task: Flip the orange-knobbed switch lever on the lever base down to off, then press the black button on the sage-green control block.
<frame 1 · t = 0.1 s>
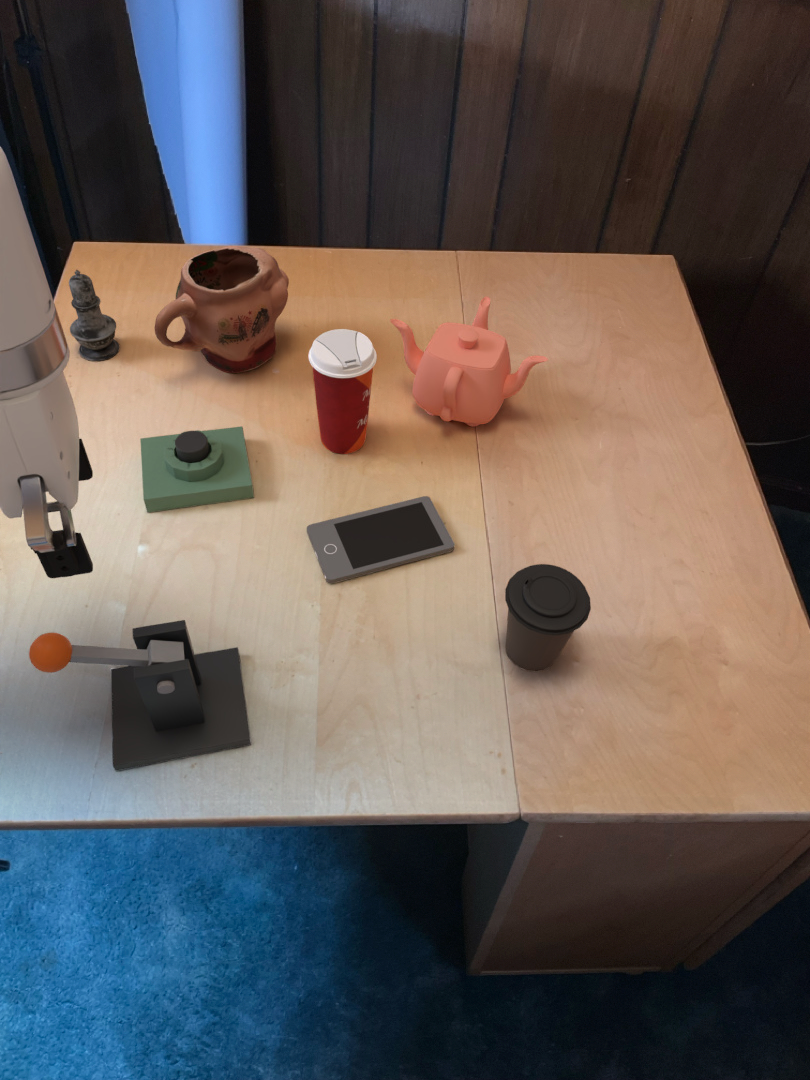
hand: (72, 523, 63), 21 cm above the table, tool pointing down, fingers open, 9 cm apart
smartphone: (380, 540, 90), on the table
switch lever: (108, 655, 67), point 11 cm above the table, hinge at 25.0°
decorative planter: (230, 360, 109), on the table
lever base: (180, 709, 76), on the table
control block: (197, 474, 95), on the table
paper cup: (342, 439, 101), on the table
teapot: (461, 397, 107), on the table
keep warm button: (192, 446, 92), point 4 cm above the table, slide at 0.1 cm
salt shaker: (99, 350, 109), on the table
coffee cup: (530, 649, 82), on the table
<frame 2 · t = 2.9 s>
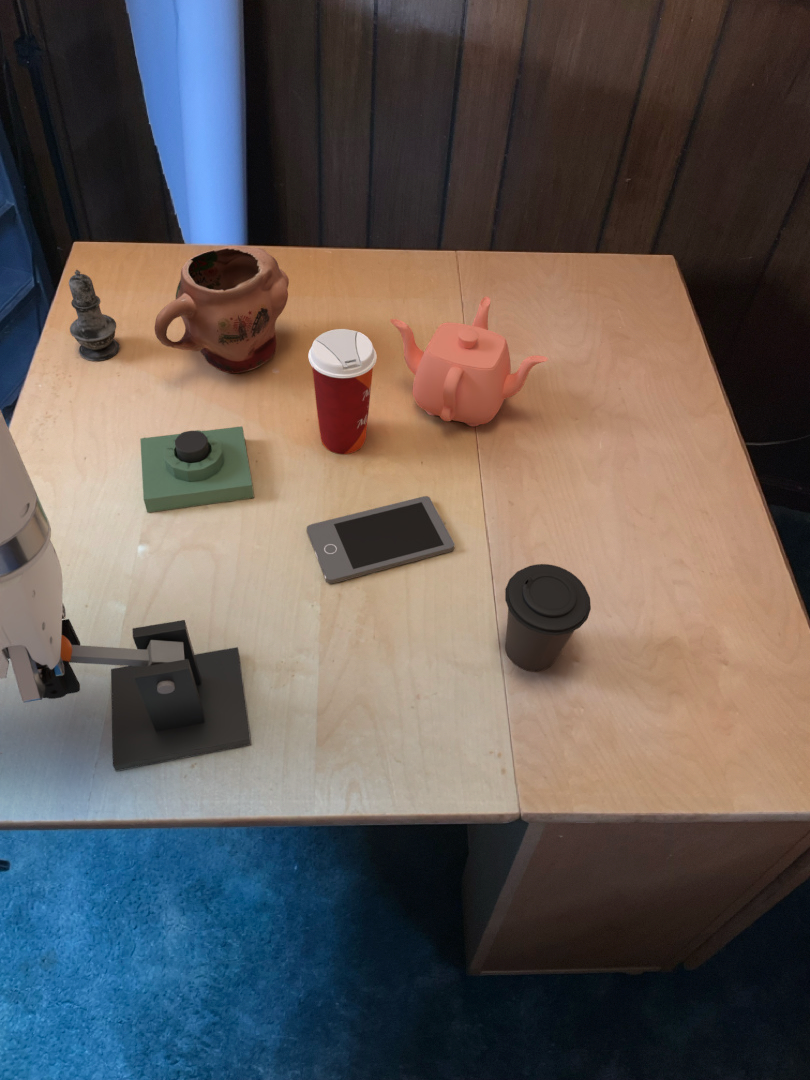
hand: (60, 670, 67), 10 cm above the table, tool pointing down, fingers closed on switch lever, 3 cm apart
switch lever: (108, 655, 67), point 11 cm above the table, hinge at 25.0°, touching gripper
everything else where it was.
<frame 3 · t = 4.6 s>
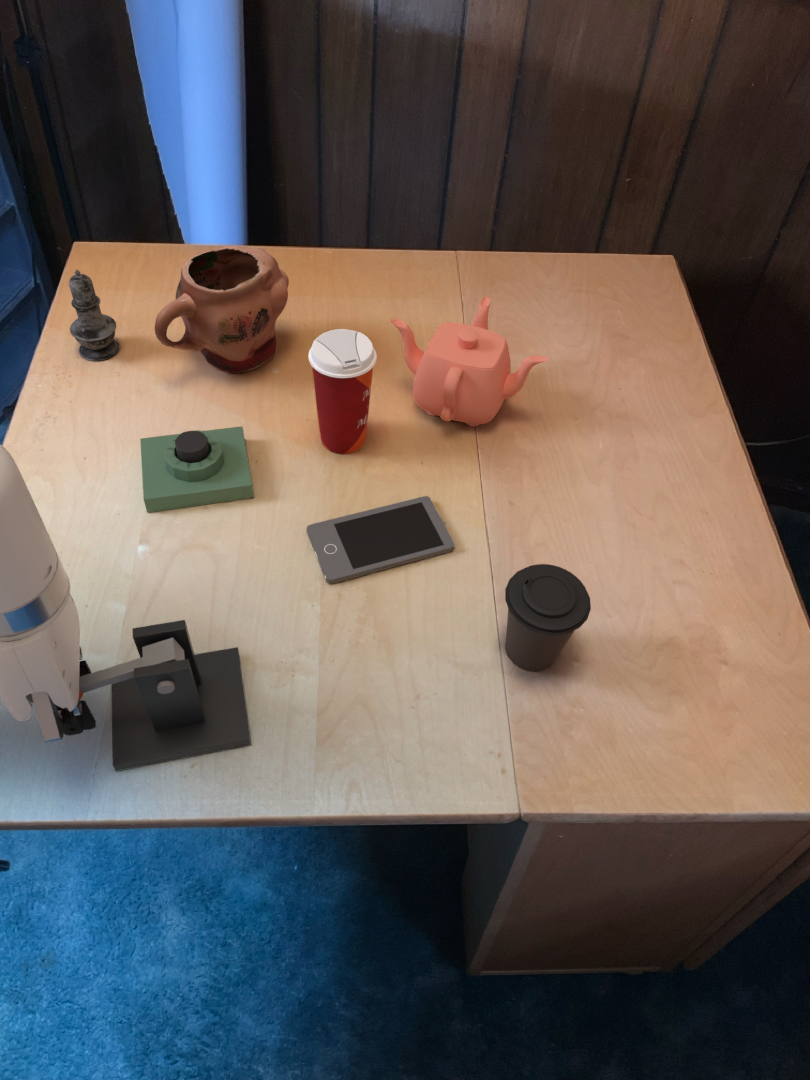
hand: (77, 707, 71), 4 cm above the table, tool pointing down, fingers closed on switch lever, 3 cm apart
switch lever: (112, 675, 69), point 8 cm above the table, hinge at -14.0°, touching gripper
everything else where it was.
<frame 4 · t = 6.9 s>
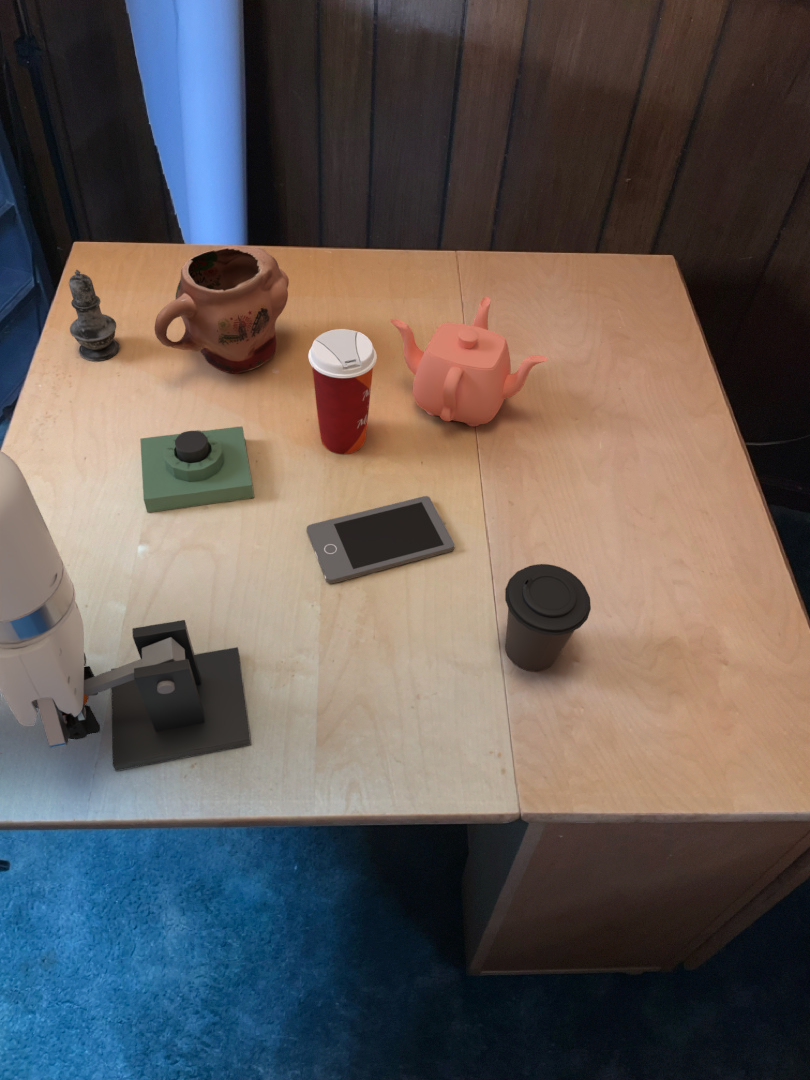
hand: (81, 712, 72), 3 cm above the table, tool pointing down, fingers closed on switch lever, 3 cm apart
switch lever: (115, 677, 69), point 7 cm above the table, hinge at -19.6°, touching gripper
everything else where it was.
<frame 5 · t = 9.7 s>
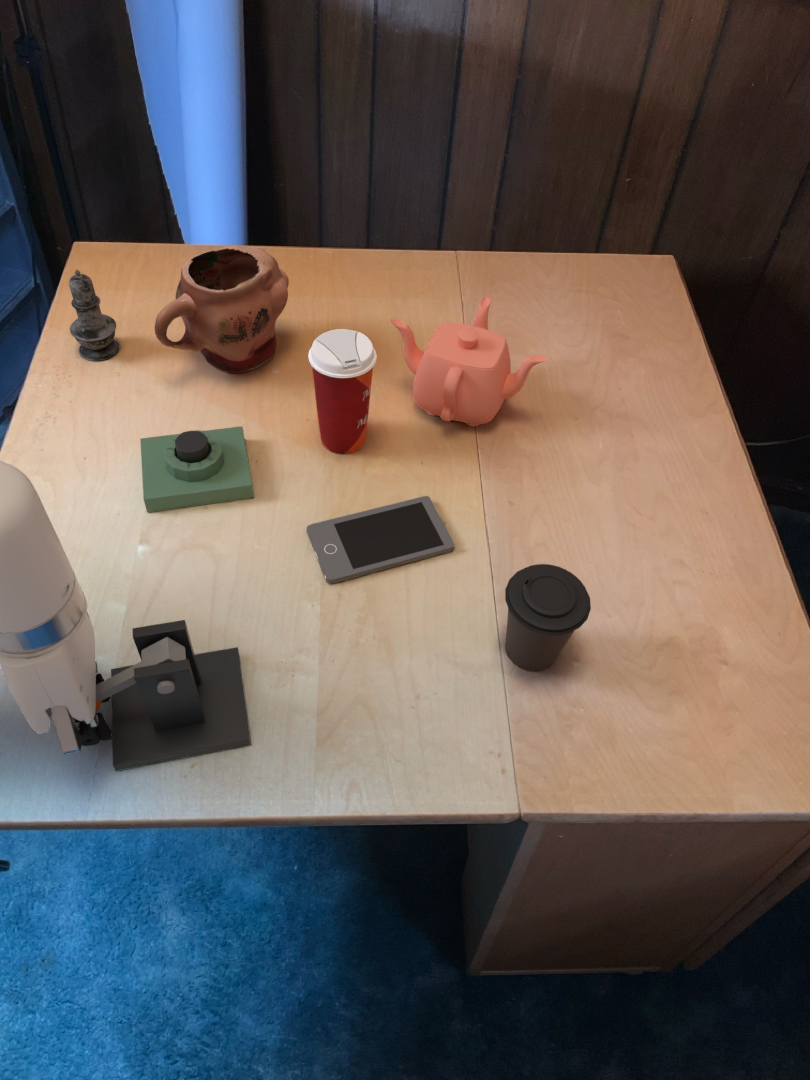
hand: (93, 719, 74), 1 cm above the table, tool pointing down, fingers closed on switch lever, 3 cm apart
switch lever: (121, 681, 70), point 7 cm above the table, hinge at -30.0°, touching gripper
everything else where it was.
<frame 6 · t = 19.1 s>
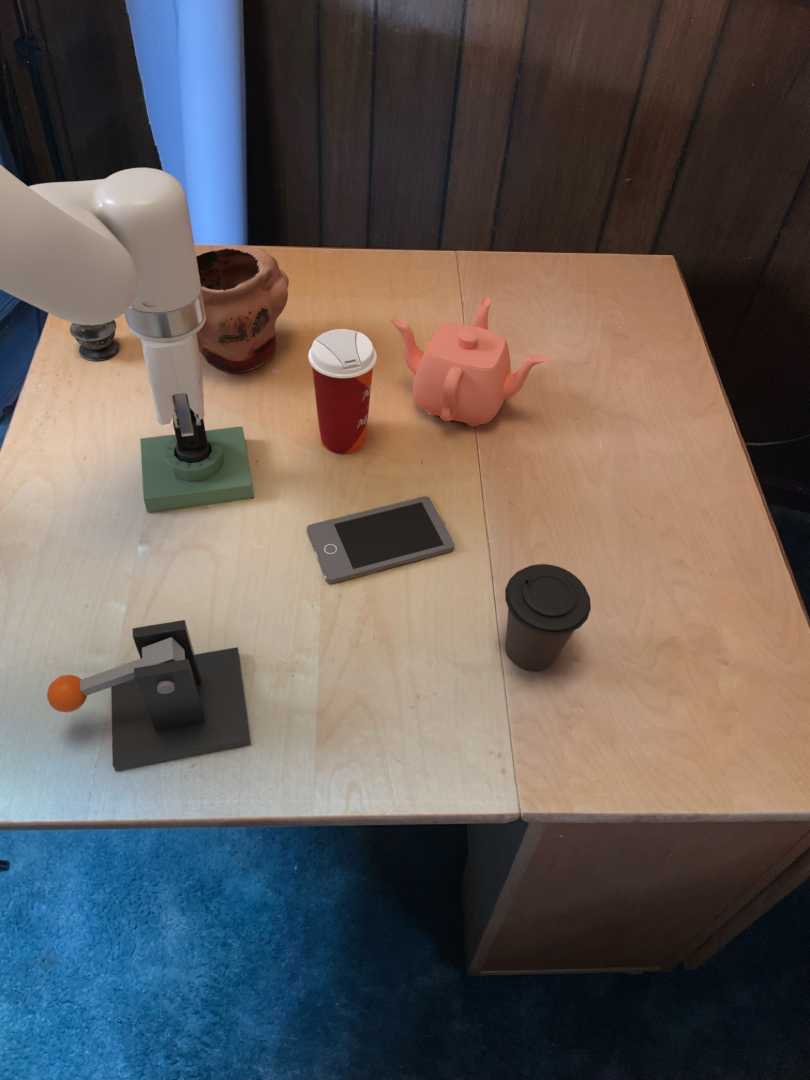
hand: (193, 444, 92), 5 cm above the table, tool pointing down, fingers closed
switch lever: (114, 676, 69), point 8 cm above the table, hinge at -17.8°
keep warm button: (193, 450, 92), point 4 cm above the table, slide at -0.5 cm, touching gripper
everything else where it was.
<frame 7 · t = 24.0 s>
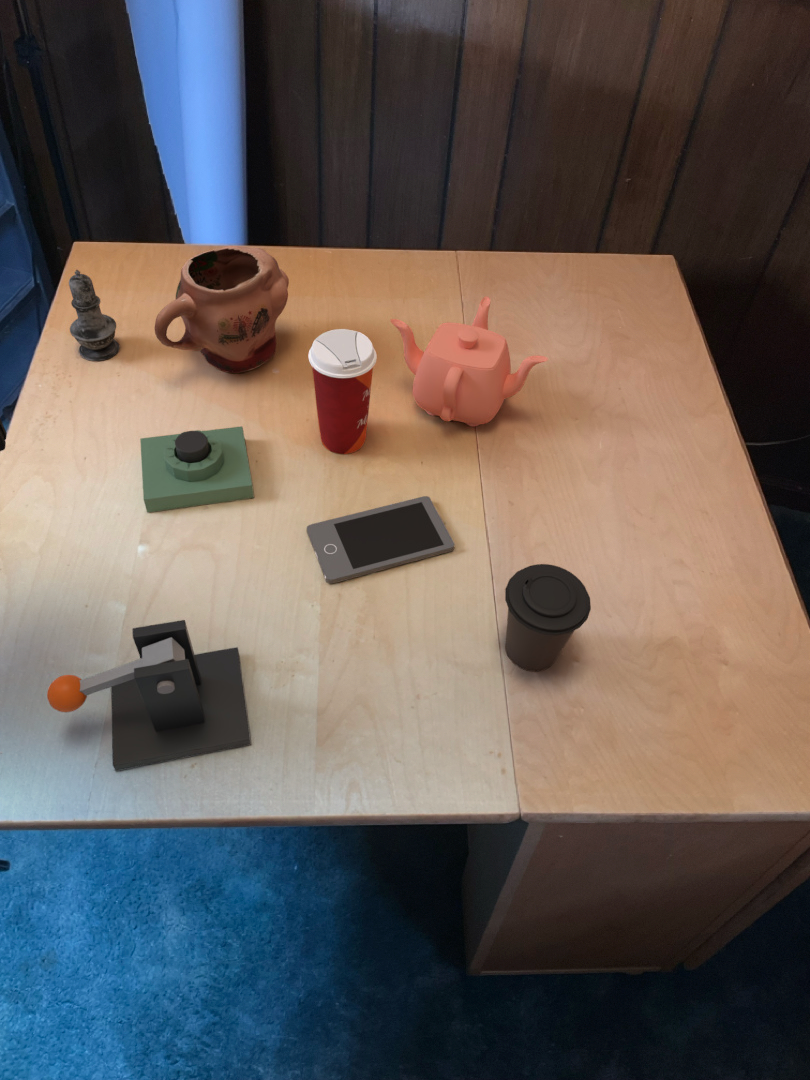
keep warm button: (192, 446, 92), point 4 cm above the table, slide at 0.1 cm
everything else where it was.
at the end: switch lever at -18° (first picture: +25°); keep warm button pushed in 1.1 cm at the most during the clip, back to where it started at the end; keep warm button slide at 0.1 cm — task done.
